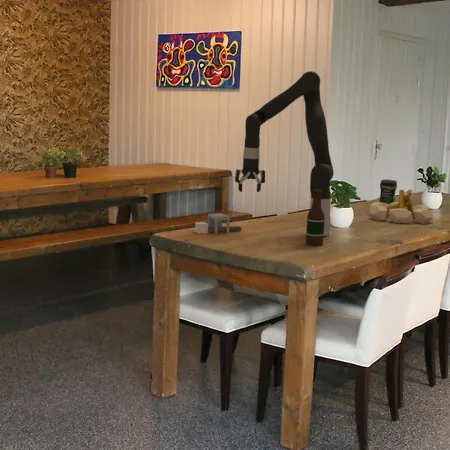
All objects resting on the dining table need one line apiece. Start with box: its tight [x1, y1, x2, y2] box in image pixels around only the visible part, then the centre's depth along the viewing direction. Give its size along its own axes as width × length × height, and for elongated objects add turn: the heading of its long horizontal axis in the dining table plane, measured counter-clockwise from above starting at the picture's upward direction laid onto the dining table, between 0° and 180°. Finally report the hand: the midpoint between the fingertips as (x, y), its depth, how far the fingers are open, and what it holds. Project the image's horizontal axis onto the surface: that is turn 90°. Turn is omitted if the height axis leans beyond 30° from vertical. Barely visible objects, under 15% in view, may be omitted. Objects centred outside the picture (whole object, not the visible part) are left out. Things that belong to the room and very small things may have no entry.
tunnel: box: [207, 212, 231, 234], centre depth 317 cm, size 10×7×8 cm
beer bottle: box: [305, 189, 325, 247], centre depth 294 cm, size 8×8×24 cm
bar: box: [207, 225, 242, 234], centre depth 317 cm, size 3×17×3 cm, turn 114°
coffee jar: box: [378, 179, 398, 204], centre depth 402 cm, size 10×8×19 cm
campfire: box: [368, 189, 434, 224], centre depth 373 cm, size 35×34×17 cm
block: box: [194, 221, 209, 235], centre depth 313 cm, size 4×4×4 cm
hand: (249, 191), depth 321 cm, fingers open, 8 cm apart
